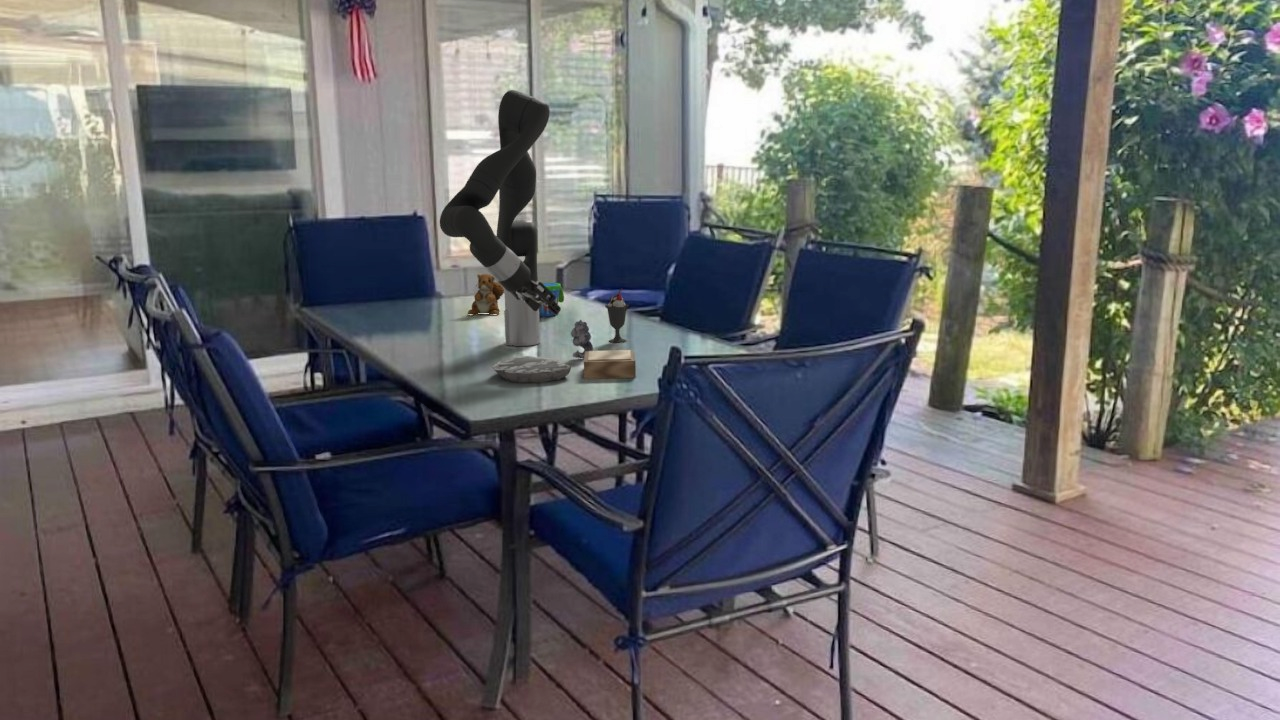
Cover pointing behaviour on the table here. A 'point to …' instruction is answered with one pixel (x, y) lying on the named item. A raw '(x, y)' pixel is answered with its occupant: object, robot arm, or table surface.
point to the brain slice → (531, 369)
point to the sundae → (617, 315)
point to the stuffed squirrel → (486, 295)
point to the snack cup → (558, 292)
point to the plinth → (609, 364)
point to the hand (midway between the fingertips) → (547, 310)
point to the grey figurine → (581, 338)
